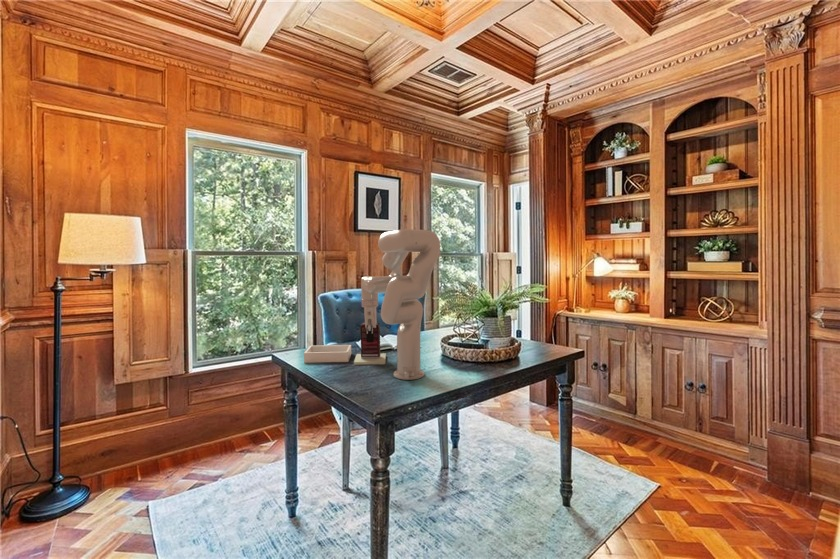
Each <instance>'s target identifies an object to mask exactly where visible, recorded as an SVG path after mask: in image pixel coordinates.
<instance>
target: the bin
mask: <svg viewBox="0 0 840 559" xmlns="http://www.w3.org/2000/svg"><path fill="white" fill-rule="evenodd" d="M351 355H352V344H335V345H334V344H329V345H328V344H326V345H324V344H323V345H318V344H317V345H309V346H308V348H306V350H305V351H304V352H303V363H306V364H307V363H310V364H311V363H349V361H350V359H351Z"/></svg>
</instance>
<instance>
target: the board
mask: <svg viewBox="0 0 840 559" xmlns="http://www.w3.org/2000/svg"><path fill="white" fill-rule="evenodd" d="M386 355H387V353H386V352H385V353H384V352H383V353H381V352H380V358H379V359H361V353H357V354H355V358H354V360H353V365H354V366H358V365H359V366H361V365H385V364H386V357H387V356H386Z"/></svg>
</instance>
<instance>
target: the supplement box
mask: <svg viewBox="0 0 840 559" xmlns="http://www.w3.org/2000/svg"><path fill="white" fill-rule="evenodd" d="M380 325H381V324H380V323H378V322H377V324H376V328H373V333H374V342H367V340H366V333H367V329H366V328H365V322H362V323H361V324H360V354H361V359H379V358H380V353H381V326H380Z"/></svg>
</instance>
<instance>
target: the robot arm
mask: <svg viewBox="0 0 840 559" xmlns="http://www.w3.org/2000/svg"><path fill="white" fill-rule="evenodd" d="M377 243H378V244H377V245H378V249H379V251H381V253H384V254H383V256H382V258H381V262H382V264H383V266H384V267H385V268H387V269H388V270H390V271H391V272H390V274H389V275H382V276H379V275H378V276H374V275H373V276H369V275H368V276H366V275H365V276H363V277H361V279H360V284H361V285H360V286H361V288H360V289H361V295H360V296H361V308H363V309H364V312H363V313H364V323H365V328H366V329H367V333H366V340H367V342H374V333H373V328H376V324H377V323H378V322H377V320H378V319H377V318H378V317H377V308H378V306H379V294H384V297H383V300H382V303H381V308H380V318H381V320H382V322H383V323H385V324H386V325H388V326H389V325H391V326H392V325H399V326H398V329H397V332H396V333H397V334H396V355H397V356H396V364H397V365H396V367H397V368H396V370H395V371H393V377H394V378H396V379H398V380H405V381H410V380H411V381H412V380H418V379H422V378H423V377H424V376H425V372H424V370H423V369H421V327H422V319H423V312H424V308H423V304H422V303H421V301H420V300H419V299H421V298H423V297H424V296H425V294H426V292H427V289H428V286H429V283H430V279H431V276H432V273H433V270H434V267H435V265H436V263H437V261H438V259H439V256H440V252H441V242H440V238H439V236H438V235H437V234H436V233H435V232H433V231H431V230H427V229H408V228H407V229H406V228H405V229H404V228H403V229H395V230H391V231H385V232H383V233H381V235H380V236H379V239H378V242H377ZM409 253H419V254H418V255H417V256H416V257H415V258H414V259H413V261H412V262H411V264H410V266H409V267H410V268H409V271H408V273H407V274H406V275H403V269H402V267H401V266H402V265H403V263H404V261H405V259H406V258H407V257H408V255H409Z"/></svg>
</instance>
